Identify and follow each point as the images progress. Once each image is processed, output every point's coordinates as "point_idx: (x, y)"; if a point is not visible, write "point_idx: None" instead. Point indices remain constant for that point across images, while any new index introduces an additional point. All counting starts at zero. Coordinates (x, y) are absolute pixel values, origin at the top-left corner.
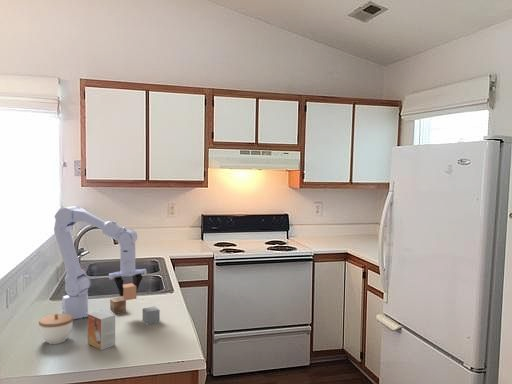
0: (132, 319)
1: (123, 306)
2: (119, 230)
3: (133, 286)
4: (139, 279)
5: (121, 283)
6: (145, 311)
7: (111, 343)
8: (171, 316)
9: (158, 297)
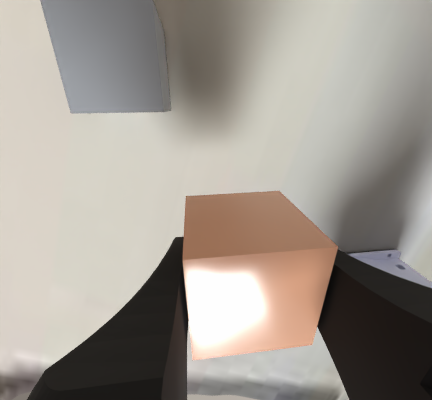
0: (208, 155)
1: None
2: None
3: (219, 260)
4: (110, 353)
5: (410, 298)
6: (157, 43)
7: None
8: (3, 90)
9: (50, 343)
